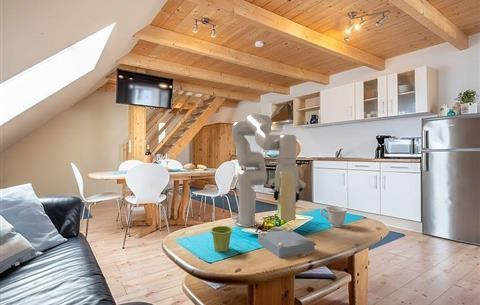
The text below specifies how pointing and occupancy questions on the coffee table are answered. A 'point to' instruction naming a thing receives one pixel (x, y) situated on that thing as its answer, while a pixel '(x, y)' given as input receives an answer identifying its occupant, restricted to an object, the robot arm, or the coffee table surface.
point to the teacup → (335, 215)
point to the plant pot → (221, 237)
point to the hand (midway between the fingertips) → (286, 200)
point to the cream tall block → (286, 197)
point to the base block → (286, 243)
